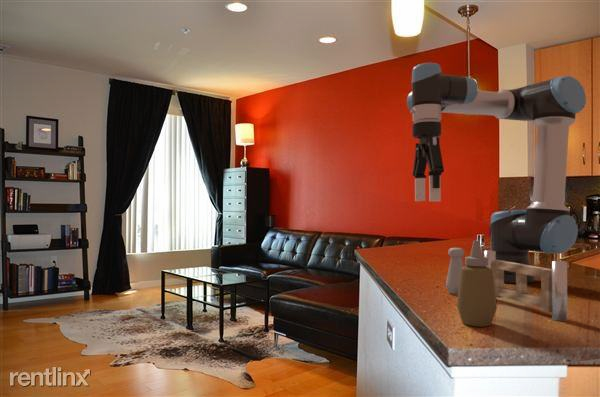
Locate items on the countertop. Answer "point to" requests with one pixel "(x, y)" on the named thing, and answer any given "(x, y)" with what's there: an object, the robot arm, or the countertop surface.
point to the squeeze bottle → (476, 290)
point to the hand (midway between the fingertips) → (427, 201)
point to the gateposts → (557, 286)
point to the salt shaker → (454, 270)
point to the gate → (523, 283)
